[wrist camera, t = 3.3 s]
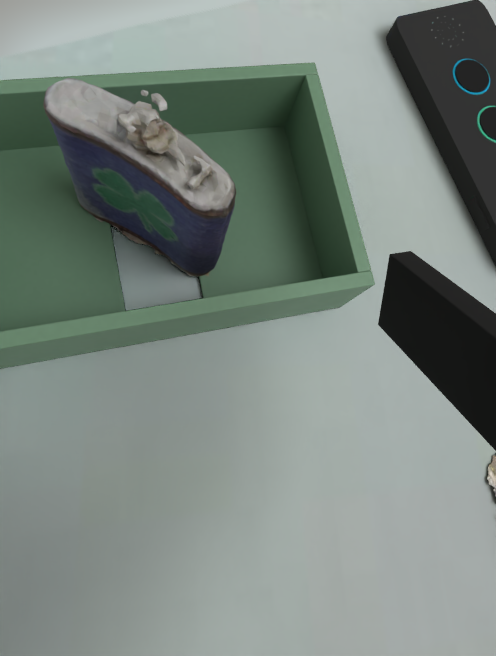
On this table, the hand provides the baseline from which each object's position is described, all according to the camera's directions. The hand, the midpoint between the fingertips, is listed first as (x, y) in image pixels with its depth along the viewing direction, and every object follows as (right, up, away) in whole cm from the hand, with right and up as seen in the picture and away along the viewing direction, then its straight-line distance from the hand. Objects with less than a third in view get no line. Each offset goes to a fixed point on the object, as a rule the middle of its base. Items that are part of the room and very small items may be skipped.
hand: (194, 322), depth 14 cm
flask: (-4, +6, +14) cm, 16 cm away
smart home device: (+19, +14, +20) cm, 31 cm away
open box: (-4, +6, +14) cm, 16 cm away
